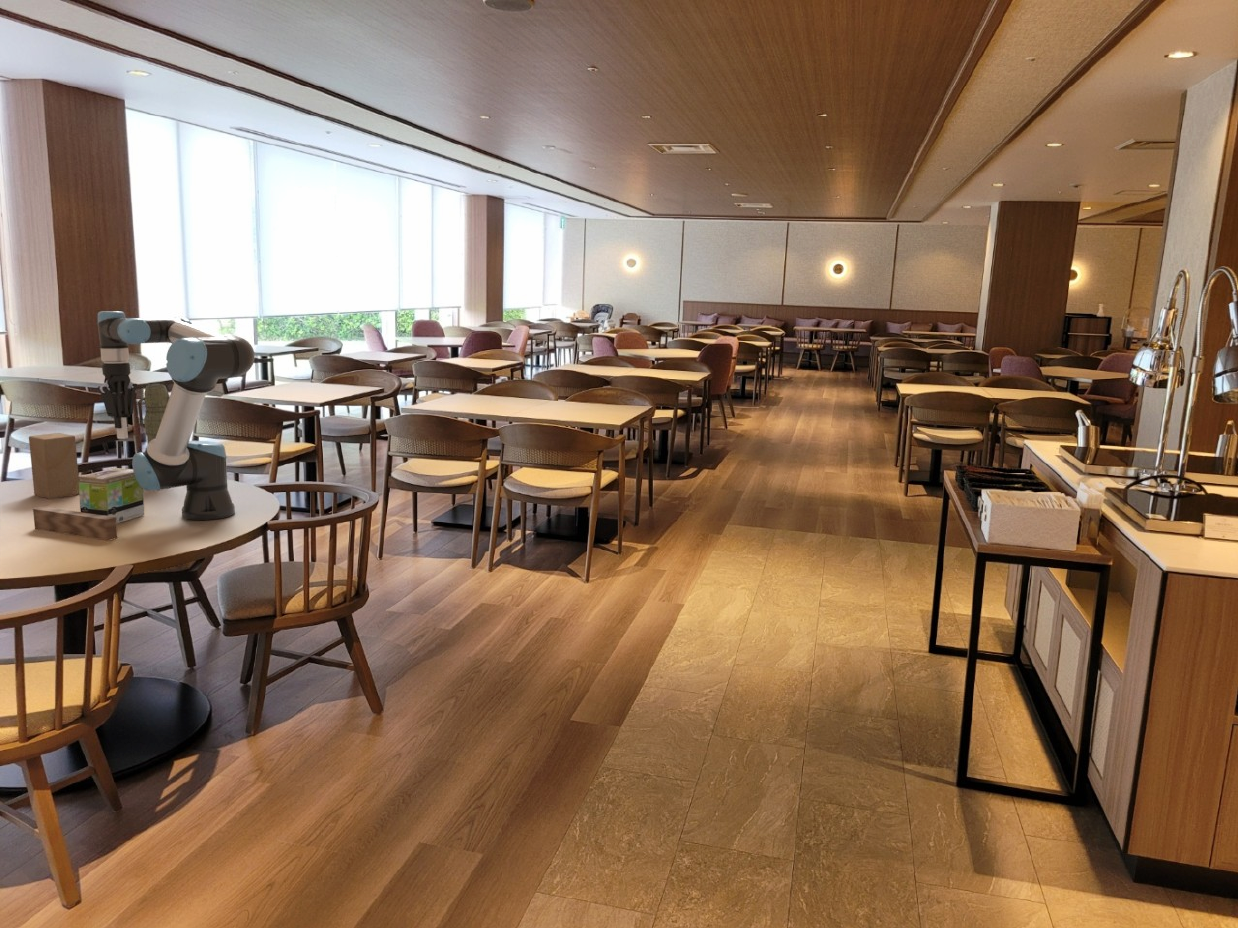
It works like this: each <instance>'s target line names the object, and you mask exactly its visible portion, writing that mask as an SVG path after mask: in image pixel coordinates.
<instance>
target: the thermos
mask: <svg viewBox="0 0 1238 928" xmlns="http://www.w3.org/2000/svg"><path fill="white" fill-rule="evenodd" d="M143 396H144V397H142V398H139V400H138V401H137V407H138V416H139V426H140V427H142V428H143V429H144V433H145V436H146V443H147V444H148V443H149V442H150V441H151V440H153V439H156V436H157V433H158V430H159V427H160V424H161V421H162V418H163V415H164V412H165V409H166V406H167V403H168V400H169V397H170V396H169V392H168V388H167V387H166V385H164V384H162V383H150V384H147V385H145V389H144V395H143ZM143 402H144V407H145V415H144V420H143V405H142V403H143Z"/></svg>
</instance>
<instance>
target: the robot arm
mask: <svg viewBox="0 0 1238 928" xmlns="http://www.w3.org/2000/svg"><path fill="white" fill-rule="evenodd" d="M96 325H97V328H98V330H97V331H98V338H99V347H100V358H101V359H100V360H101V362H103V363H102V364H101V370H102V375H103V376H104V379H103V384H102V385H101V386H100V385H99V386H98V387H97V390H98V391H99V393H100V394H101V398H102V401H103V405H104V408H105V411H106V414H107V417H110V418H113V420H114V428H115V429H116V438H117V439H120V440H126V439H129V434H128V428H129V419H128V418H130V417H131V415H133V414H134V409H135V397H136V391H137V389H138V383H134V382H132V381H131V378H130V374H132V373H131V363H129V361H130V354H129V353H130V352H129V344H130V345H140V344H158V343H159V344H160V343H169V344H171V345H170V346H169V347H168V350H167V353H166V357H165V358H166V361H167V363H166V364H165V365H166V369H167V372H168V375H169V376H170V378H171V381H172V382H173V386H172V389H171V392H170V394H169V396H168V397H169V400H168V403H167V406H166V409H165V412H164V415H163V418H162V421H161V424H160V427H159V430H158V433H157V436H156V439H153V440H151V441H150V442H149V443H148V444H147V445H146V448H145V450H144V451H142V452H141V451H139V452H137V453H135V454H134V455H133V457H132V461H131V463H132V464H131V465H132V469H133V472H134V475H135V478H136V480H137V482H138V484H139V485H140V486H141V487H142V488H143V491H144V490H145V491H148V492H153V491H161V490H162V491H163V490H168V489H172V488H180V487H184V486H186V493H185V497H184V501H183V506H182V508H181V517H182V518H183V519H186V520H193V521H209V520H212V521H213V520H219V519H224V518H229V517H231V516H233V515H234V514H235V513H236V509H235V507H236V506H235V504H234V503H233V500H232V497H231V494H230V492H229V488H228V471H227V470H228V469H227V458H228V457H227V453H226V452H227V451H226V448H225V446H224V444H222V443H220V442H215V441H206V440H205V441H204V440H191V437H192V434H193V432H194V428H195V425H196V423H197V420H198V418H199V415H200V411H202V410H201V409H202V408H203V407H202V406H203V404H204V400H205V398H206V395H207V394H208V393H211V392H212V391H214V390H215V388H216V386H217V384H218V380H219V379H224V380H225V379H235V378H238V377H241V376H243V375H244V374H246V373H248V372H250V370H251V369H252V367H253V365H254V363H255V358H256V357H255V350H254V348H253V346H252V345H251V343H250V342H249V341H247V340H246V339H245V338H243V337H240V336H237V335H234V334H225V335H223V334H220V333H217V332H214V331H212V330H210V329H209V330H208V329H207V328H203V327H199V326H197V325H193V323H192V322H191V320H190V319H189V318H186V317H179V316H178V317H145V318H144V317H126V313H125V312H124V311H118V310H116V311H115V310H114V311H112V310H111V311H109V310H107V311H99V312H98V313H97V323H96Z"/></svg>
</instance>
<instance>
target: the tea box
mask: <svg viewBox="0 0 1238 928" xmlns="http://www.w3.org/2000/svg"><path fill="white" fill-rule="evenodd" d="M78 495H79V510H80V511H79V512H83V513H90V514H97V515H104V516H110V517H116V525H117V524H119V523H122V522H126V521H130V520H133V519H136V518H140V516H141V517H144V516H145V503H144V502H145V501H144V489H143V488H142V487H141V486H140V485H139V484H138V482H137V480H136V478H135V475H134V472H133V468H121V467H119V468H118V467H114V468H110V469H106V470H105V469H104V470H100V471H97V472H92V473H88V474H84V475H79V494H78ZM143 515H144V516H143Z"/></svg>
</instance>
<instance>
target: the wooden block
mask: <svg viewBox="0 0 1238 928" xmlns="http://www.w3.org/2000/svg"><path fill="white" fill-rule="evenodd" d="M28 444H29V454H30V461H31V462H30V464H31V472H32V473H31V475H32V482H33V483H32V484H33V494H34V496H37V497H42V498H44V499H48V500H53V499H58V498H64V497H72V496H77V495H79V476H80V475H79V465H78V455H77V454H78V453H77V443H76V436H75V435H72V434H67V433H64V432H63V433H62V432H54V433H53V432H52V433H46V434H45V433H44V434H37V435H30V436H29V437H28Z"/></svg>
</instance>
